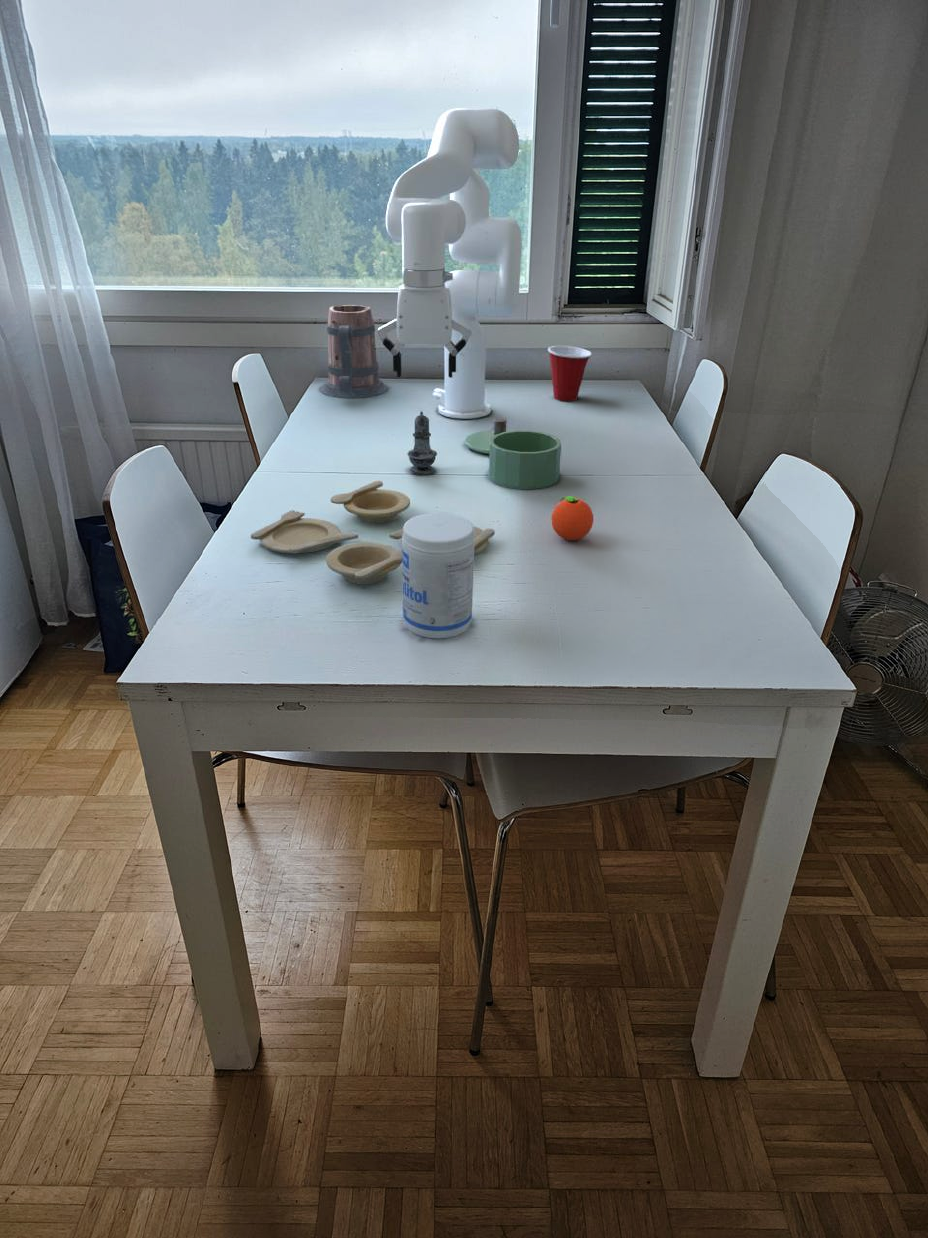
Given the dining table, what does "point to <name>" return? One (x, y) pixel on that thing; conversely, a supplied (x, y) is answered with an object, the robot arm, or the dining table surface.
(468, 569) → the supplement tub
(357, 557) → the tableware set
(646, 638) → the dining table surface
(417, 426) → the salt shaker
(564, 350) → the plastic cup
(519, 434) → the bowl
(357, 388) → the tankard
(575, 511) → the clementine
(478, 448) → the lid
